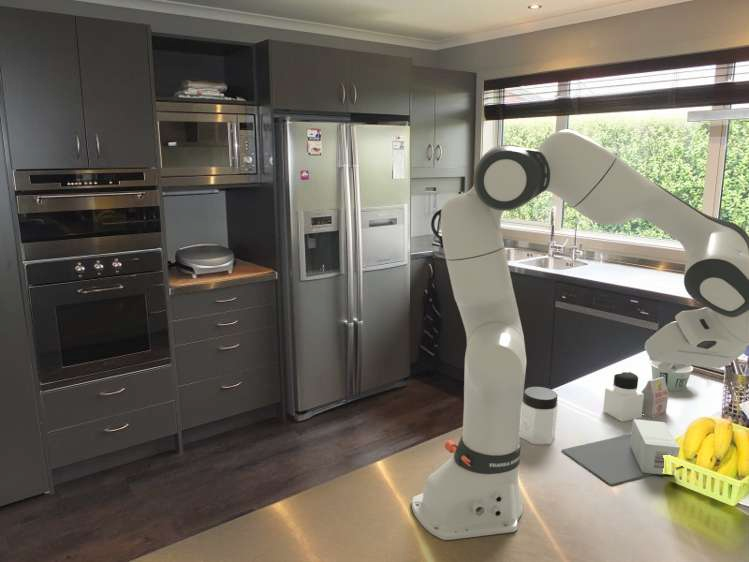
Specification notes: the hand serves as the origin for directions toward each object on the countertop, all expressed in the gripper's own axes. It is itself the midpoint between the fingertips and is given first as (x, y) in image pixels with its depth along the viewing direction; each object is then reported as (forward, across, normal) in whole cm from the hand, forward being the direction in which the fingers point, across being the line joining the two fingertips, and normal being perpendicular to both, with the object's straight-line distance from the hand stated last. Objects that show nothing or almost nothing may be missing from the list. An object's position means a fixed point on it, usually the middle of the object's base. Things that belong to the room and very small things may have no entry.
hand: (664, 370), depth 115 cm
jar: (+43, -3, -6) cm, 43 cm away
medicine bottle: (+39, -32, -11) cm, 52 cm away
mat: (+30, -14, +5) cm, 34 cm away
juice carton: (+36, -41, -11) cm, 56 cm away
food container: (+41, -61, -24) cm, 78 cm away
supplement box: (+21, -15, +10) cm, 28 cm away
